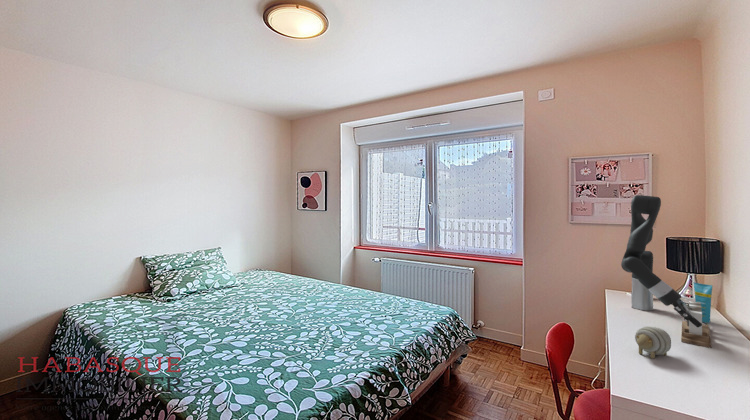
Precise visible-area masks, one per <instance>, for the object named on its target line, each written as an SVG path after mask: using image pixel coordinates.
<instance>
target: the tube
mask: <svg viewBox="0 0 750 420" xmlns="http://www.w3.org/2000/svg"><path fill="white" fill-rule="evenodd" d="M693 289H694V300H695V301H694V302H700V303H701V312H702V323H704V324H705V323H706V324H710V323H711V310H712V308H711V307H712V295H713V294H712V293H713V285H712V284H707V283H706V284H704V283H699V282H693Z"/></svg>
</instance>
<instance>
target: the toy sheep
mask: <svg viewBox="0 0 750 420" xmlns="http://www.w3.org/2000/svg"><path fill="white" fill-rule="evenodd" d="M634 340H635V342H636V344H637V347H638V354H639V355H643V351H644V352H646V353H648V354H650V359H653V360H654V359H655V357H656V356H657V355H658V356H660V355H663V356H667V353H668V352H669V351H670V350H671V348H672V337H671V336H670V335H669V333H668V332H667V331H666V330H665V329H662V328H660V327H656V326H643V327H641V328H639V329H638V330H637V331H636V332H635V335H634Z"/></svg>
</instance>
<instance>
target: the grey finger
mask: <svg viewBox="0 0 750 420" xmlns="http://www.w3.org/2000/svg"><path fill="white" fill-rule="evenodd" d="M689 311H690V312H691V315H693V316H694V318H696V319H697V320H698V321H699V322H700V323H701V324H703V322H702V312H697V311H691V310H689ZM686 316H688V315H686ZM686 321H687V326H689V333H691V334H696V335H701V336H702V326H700V327H696V326H695V325H694V324H693V323H691V322H690V321H689V320H686Z"/></svg>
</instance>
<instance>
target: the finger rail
mask: <svg viewBox="0 0 750 420" xmlns="http://www.w3.org/2000/svg"><path fill="white" fill-rule="evenodd" d="M687 305H688V306H689V307H690V308H692V310H693V311H697V312H701V303H700V302H695V301H693V300H691V301H690V300H689V301H688V303H687ZM710 333H711V332H710V328H709V325H708V324H705V323H704V324H703V323H702V336H701V335H696V334H691V333H689V326H687V320H681V337H680V339H681V340H680V341H681V342H682V343H685V344H691V345H697V346H701V347H704V346H705V347H706V348H709V347H710V348H711V349H712V339H711V338H712V337H711V334H710Z"/></svg>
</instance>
